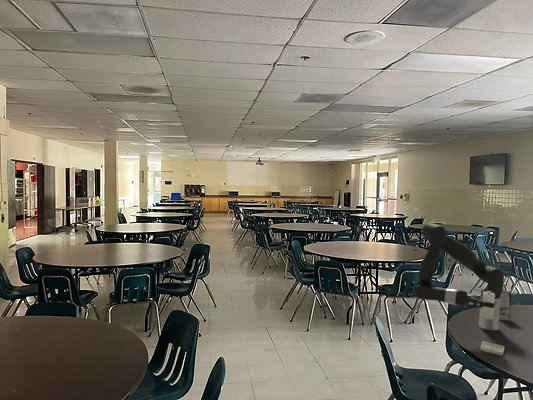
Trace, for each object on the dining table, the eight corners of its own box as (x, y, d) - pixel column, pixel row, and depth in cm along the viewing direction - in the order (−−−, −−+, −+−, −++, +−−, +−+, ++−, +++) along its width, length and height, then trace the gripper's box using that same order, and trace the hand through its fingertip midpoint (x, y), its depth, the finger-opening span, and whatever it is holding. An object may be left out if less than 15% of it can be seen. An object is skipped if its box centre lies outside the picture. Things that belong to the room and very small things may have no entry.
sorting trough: (482, 344, 193) (482, 341, 193) (504, 349, 188) (504, 346, 188) (480, 350, 185) (480, 347, 185) (502, 355, 180) (502, 352, 180)
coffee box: (510, 320, 229) (512, 293, 229) (498, 319, 231) (499, 292, 230) (504, 315, 238) (505, 289, 238) (492, 314, 240) (494, 288, 239)
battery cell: (482, 315, 197) (483, 289, 196) (493, 317, 194) (495, 291, 193) (480, 317, 193) (482, 291, 192) (492, 320, 190) (494, 293, 189)
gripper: (453, 292, 195) (493, 300, 185) (459, 287, 207) (496, 293, 197) (452, 308, 195) (492, 315, 186) (458, 301, 207) (495, 308, 197)
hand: (494, 304), depth 191 cm, fingers closed on battery cell, 5 cm apart
